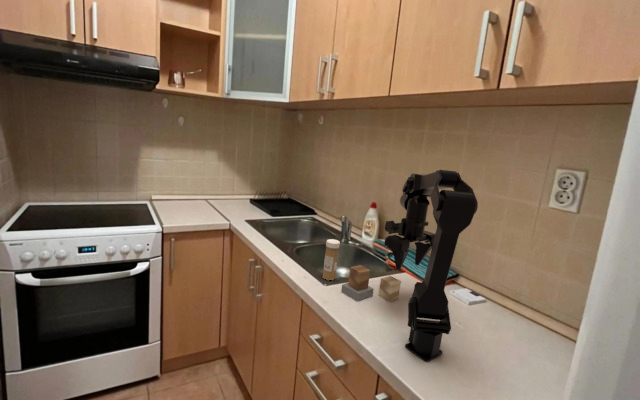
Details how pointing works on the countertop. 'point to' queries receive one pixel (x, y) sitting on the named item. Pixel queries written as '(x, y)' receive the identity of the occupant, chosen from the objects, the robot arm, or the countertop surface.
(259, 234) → the countertop surface
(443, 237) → the robot arm
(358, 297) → the tile block
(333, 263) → the sprinkles bottle
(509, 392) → the countertop surface
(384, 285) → the maple block
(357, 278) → the walnut block
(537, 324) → the countertop surface
